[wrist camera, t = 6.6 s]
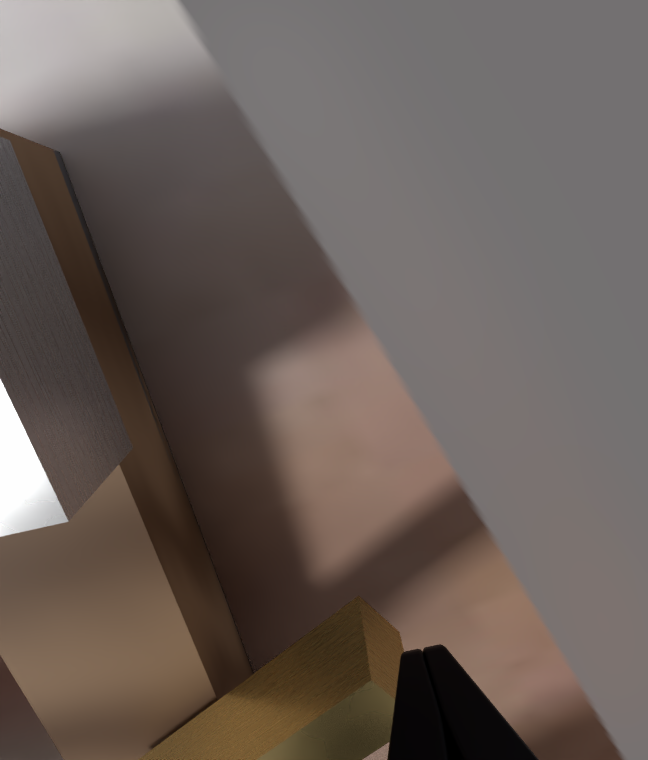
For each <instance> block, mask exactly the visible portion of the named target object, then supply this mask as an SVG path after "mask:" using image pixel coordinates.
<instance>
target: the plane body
mask: <svg viewBox="0 0 648 760" xmlns="http://www.w3.org/2000/svg"><path fill="white" fill-rule="evenodd" d="M0 137H2V138H5V139H8V140H10V142H11V144H12V147H13V149H14V152H15V154H16V157H17V159H18V162H19V164H20V167H21V169H22V172H23V174H24V177H25V179H26V182H27V184H28V186H29V189H30V191H31V194H32V196H33V199H34V201H35V204H36V206H37V209H38V211H39V214H40V216H41V219H42V221H43V224H44V226H45V229H46V231H47V234H48V236H49V239H50V241H51V244H52V246H53V249H54V251H55V254H56V256H57V259H58V261H59V264H60V266H61V269H62V271H63V274H64V276H65V279H66V281H67V284H68V286H69V289H70V291H71V294H72V296H73V299H74V301H75V304H76V306H77V309H78V311H79V314H80V316H81V319H82V321H83V324H84V326H85V329H86V331H87V334H88V336H89V339H90V341H91V344H92V346H93V349H94V351H95V354H96V356H97V359H98V361H99V364H100V366H101V369H102V371H103V374H104V376H105V379H106V381H107V384H108V386H109V389H110V391H111V394H112V396H113V399H114V401H115V404H116V406H117V409H118V411H119V413H120V416H121V418H122V421H123V423H124V426H125V428H126V431H127V433H128V436H129V438H130V441H131V443H132V446H133V449H132V450H131V451H130V452H129V453H128V454H127V456H126V457H125V458H124V459H123V460H122V461H121V462H120V464H119V465H118V466H117V467H116V468H115V469H114V470H113V472H112V473H111V474H110V475H109V476H108V477H107V478H106V480H105V481H104V482H103V483H102V484H101V485H100V486H99V488H98V489H97V490H96V491H95V492H94V493H93V494H92V496H91V497H90V498H89V499H88V500H87V501H86V502H85V504H84V505H83V506H82V507H81V508H80V509H79V510H78V512H77V513H76V514H75V515H74V516H73V517H72V518H71V520H70V521H69V522H65V523H60V524H56V525H51V526H47V527H42V528H38V529H33V530H29V531H24V532H20V533H15V534H11V535H6V536H2V537H0V655H1V657H2V659H3V660H4V662H5V664H6V665H7V667H8V669H9V670H10V672H11V674H12V675H13V677H14V679H15V680H16V682H17V683H18V685H19V687H20V688H21V690H22V692H23V693H24V695H25V697H26V698H27V700H28V702H29V703H30V705H31V707H32V708H33V710H34V712H35V713H36V715H37V716H38V718H39V720H40V721H41V723H42V725H43V726H44V728H45V730H46V731H47V733H48V735H49V736H50V738H51V740H52V741H53V743H54V745H55V746H56V748H57V749H58V751H59V753H60V754H61V756H62V758H63V759H64V760H138V759H140V758H141V757H142V756H144V755H145V754H146V753H148V752H149V751H150V750H152V749H153V748H154V747H156V746H157V745H158V744H160V743H161V742H162V741H164V740H165V739H166V738H168V737H169V736H171V735H172V734H173V733H175V732H176V731H177V730H179V729H180V728H181V727H183V726H184V725H185V724H187V723H188V722H189V721H191V720H192V719H193V718H195V717H196V716H197V715H199V714H200V713H201V712H203V711H204V710H206V709H207V708H208V707H210V706H211V705H212V704H214V703H215V702H216V701H218V700H219V699H220V698H222V697H223V696H224V695H226V694H227V693H228V692H230V691H231V690H232V689H234V688H235V687H236V686H238V685H239V684H241V683H242V682H243V681H245V680H246V679H247V678H249V677H250V676H251V675H253V674H254V673H253V671H252V668H251V665H250V663H249V660H248V657H247V655H246V652H245V649H244V647H243V644H242V641H241V638H240V636H239V633H238V630H237V628H236V625H235V622H234V620H233V617H232V614H231V612H230V609H229V606H228V604H227V601H226V598H225V595H224V593H223V590H222V587H221V585H220V582H219V579H218V577H217V574H216V571H215V569H214V566H213V563H212V561H211V558H210V555H209V553H208V550H207V547H206V544H205V542H204V539H203V536H202V534H201V531H200V528H199V526H198V523H197V520H196V518H195V515H194V512H193V510H192V507H191V504H190V501H189V499H188V496H187V493H186V491H185V488H184V485H183V483H182V480H181V477H180V475H179V472H178V469H177V467H176V464H175V461H174V458H173V456H172V453H171V450H170V448H169V445H168V442H167V440H166V437H165V434H164V432H163V429H162V426H161V424H160V421H159V418H158V415H157V413H156V410H155V407H154V405H153V402H152V399H151V397H150V394H149V391H148V389H147V386H146V383H145V381H144V378H143V375H142V372H141V370H140V367H139V364H138V362H137V359H136V356H135V354H134V351H133V348H132V346H131V343H130V340H129V338H128V335H127V332H126V329H125V327H124V324H123V321H122V319H121V316H120V313H119V311H118V308H117V305H116V303H115V300H114V297H113V295H112V292H111V289H110V286H109V284H108V281H107V278H106V276H105V273H104V270H103V268H102V265H101V262H100V260H99V257H98V254H97V252H96V249H95V246H94V243H93V241H92V238H91V235H90V233H89V230H88V227H87V225H86V222H85V219H84V217H83V214H82V211H81V209H80V206H79V203H78V200H77V198H76V195H75V192H74V190H73V187H72V184H71V182H70V179H69V176H68V174H67V171H66V168H65V166H64V163H63V160H62V157H61V155H60V152H58V151H55V150H53V149H50V148H48V147H45V146H43V145H40V144H38V143H35V142H33V141H30V140H27V139H25V138H22V137H20V136H17V135H15V134H12V133H10V132H7V131H5V130H2V129H0Z"/></svg>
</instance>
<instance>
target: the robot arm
mask: <svg viewBox="0 0 648 760" xmlns="http://www.w3.org/2000/svg"><path fill="white" fill-rule="evenodd" d="M387 760H538V758H537V757H536V756H535V755H534V754H533V752H532V751H531V750H530V749H529V747H528V746H527V745H526V744H525V743H524V741H523V740H522V739H521V738H520V737H519V735H518V734H517V733H516V732H515V731H514V729H513V728H512V727H511V726H510V725H509V723H508V722H507V721H506V720H505V718H504V717H503V716H502V715H501V714H500V712H499V711H498V710H497V709H496V708H495V706H494V705H493V704H492V703H491V702H490V700H489V699H488V698H487V697H486V696H485V694H484V693H483V692H482V691H481V689H480V688H479V687H478V686H477V685H476V683H475V682H474V681H473V680H472V679H471V677H470V676H469V675H468V674H467V673H466V671H465V670H464V669H463V668H462V667H461V665H460V664H459V663H458V662H457V660H456V659H455V658H454V657H453V656H452V654H451V653H450V652H449V651H448V650H447V648H446V647H444V646H443V645H441V644H439V645H434V646H430V647H425V648H424V649H423V652H422V651H421V650H420V649H415V650H410V651H405V652H403V653H402V654H401V657H400V665H399V673H398V681H397V688H396V696H395V704H394V712H393V720H392V728H391V736H390V744H389V751H388V759H387Z"/></svg>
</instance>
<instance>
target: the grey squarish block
mask: <svg viewBox="0 0 648 760" xmlns="http://www.w3.org/2000/svg"><path fill="white" fill-rule="evenodd" d="M132 449H133V446H132V443H131V441H130V438H129V436H128V433H127V431H126V428H125V426H124V423H123V421H122V418H121V416H120V413H119V411H118V409H117V406H116V404H115V401H114V399H113V396H112V394H111V391H110V389H109V386H108V384H107V381H106V379H105V376H104V374H103V371H102V369H101V366H100V364H99V361H98V359H97V356H96V354H95V351H94V349H93V346H92V344H91V341H90V339H89V336H88V334H87V331H86V329H85V326H84V324H83V321H82V319H81V316H80V314H79V311H78V309H77V306H76V304H75V301H74V299H73V296H72V294H71V291H70V289H69V286H68V284H67V281H66V279H65V276H64V274H63V271H62V269H61V266H60V264H59V261H58V259H57V256H56V254H55V251H54V249H53V246H52V244H51V241H50V239H49V236H48V234H47V231H46V229H45V226H44V224H43V221H42V219H41V216H40V214H39V211H38V209H37V206H36V204H35V201H34V199H33V196H32V194H31V191H30V189H29V186H28V184H27V182H26V179H25V177H24V174H23V172H22V169H21V167H20V164H19V162H18V159H17V157H16V154H15V152H14V149H13V147H12V144H11V142H10V140H8V139H5V138H2V137H0V537H2V536H6V535H11V534H15V533H20V532H24V531H29V530H33V529H38V528H42V527H47V526H51V525H56V524H60V523H65V522H69V521H70V520H71V518H72V517H73V516H74V515H75V514H76V513H77V512H78V510H79V509H80V508H81V507H82V506H83V505H84V504H85V502H86V501H87V500H88V499H89V498H90V497H91V496H92V494H93V493H94V492H95V491H96V490H97V489H98V488H99V486H100V485H101V484H102V483H103V482H104V481H105V480H106V478H107V477H108V476H109V475H110V474H111V473H112V472H113V470H114V469H115V468H116V467H117V466H118V465H119V464H120V462H121V461H122V460H123V459H124V458H125V457H126V456H127V454H128V453H129V452H130V451H131V450H132Z"/></svg>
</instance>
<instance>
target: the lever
mask: <svg viewBox="0 0 648 760" xmlns="http://www.w3.org/2000/svg"><path fill="white" fill-rule="evenodd" d="M403 652H404V649H403V645H402V641H401V637H400V633H399V631H398V630H396V629H395V628H394V627H393V626H392V625H391V624H390V623H389V622H388V621H386V620H385V619H384V618H383V617H382V616H381V615H380V614H379V613H377V612H376V611H375V610H374V609H373V608H372V607H371V606H370V605H368V604H367V603H366V602H365V601H364V600H363V599H362V598H361V597H359V596H358V597H356V598H355V599H354V600H352V601H351V602H350V603H348V604H347V605H345V606H344V607H343V608H341V609H340V610H339V611H337V612H336V613H335V614H333V615H332V616H331V617H329V618H328V619H327V620H325V621H324V622H323V623H321V624H320V625H319V626H317V627H316V628H315V629H313V630H312V631H310V632H309V633H308V634H306V635H305V636H304V637H302V638H301V639H300V640H298V641H297V642H296V643H294V644H293V645H292V646H290V647H289V648H288V649H286V650H285V651H284V652H282V653H281V654H280V655H278V656H277V657H276V658H274V659H273V660H271V661H270V662H269V663H267V664H266V665H265V666H263V667H262V668H261V669H259V670H258V671H257V672H255V673H254V674H253V675H251V676H250V677H249V678H247V679H246V680H245V681H243V682H242V683H241V684H239V685H238V686H236V687H235V688H234V689H232V690H231V691H230V692H228V693H227V694H226V695H224V696H223V697H222V698H220V699H219V700H218V701H216V702H215V703H214V704H212V705H211V706H210V707H208V708H207V709H206V710H204V711H203V712H201V713H200V714H199V715H197V716H196V717H195V718H193V719H192V720H191V721H189V722H188V723H187V724H185V725H184V726H183V727H181V728H180V729H179V730H177V731H176V732H175V733H173V734H172V735H171V736H169V737H168V738H166V739H165V740H164V741H162V742H161V743H160V744H158V745H157V746H156V747H154V748H153V749H152V750H150V751H149V752H148V753H146V754H145V755H144V756H142V757H141V758H140V759H138V760H362V759H364V758H365V757H367V756H368V755H370V754H371V753H373V752H374V751H376V750H377V749H379V748H381V747H382V746H384V745H385V744H387V743H388V742H390V736H391V728H392V720H393V712H394V704H395V696H396V688H397V681H398V673H399V665H400V657H401V654H402V653H403Z"/></svg>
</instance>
